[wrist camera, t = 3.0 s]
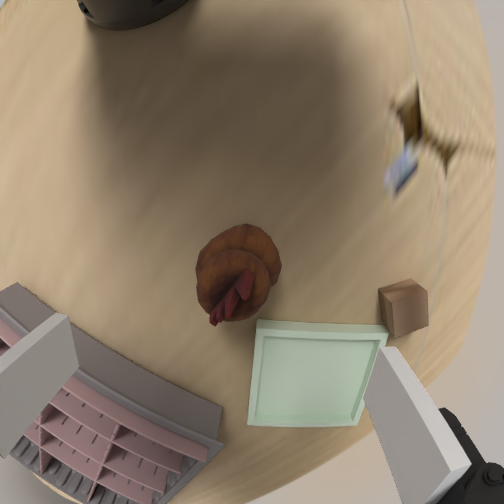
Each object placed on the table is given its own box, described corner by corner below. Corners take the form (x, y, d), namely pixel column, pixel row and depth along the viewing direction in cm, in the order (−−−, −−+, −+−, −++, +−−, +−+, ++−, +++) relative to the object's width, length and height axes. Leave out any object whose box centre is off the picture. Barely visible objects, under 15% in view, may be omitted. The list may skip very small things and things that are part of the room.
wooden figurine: (257, 208, 28) (252, 241, 14) (287, 260, 29) (309, 339, 15) (197, 243, 29) (138, 306, 15) (227, 292, 30) (200, 387, 16)
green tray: (247, 414, 34) (246, 425, 32) (257, 319, 31) (256, 328, 29) (353, 415, 34) (356, 425, 32) (382, 324, 31) (389, 333, 29)
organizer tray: (15, 423, 40) (-7, 450, 31) (21, 270, 31) (-30, 296, 22) (146, 500, 43) (135, 536, 34) (232, 398, 34) (223, 459, 24)
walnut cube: (381, 320, 31) (394, 338, 27) (377, 288, 30) (392, 303, 26) (412, 310, 30) (428, 325, 27) (410, 278, 30) (427, 291, 26)
